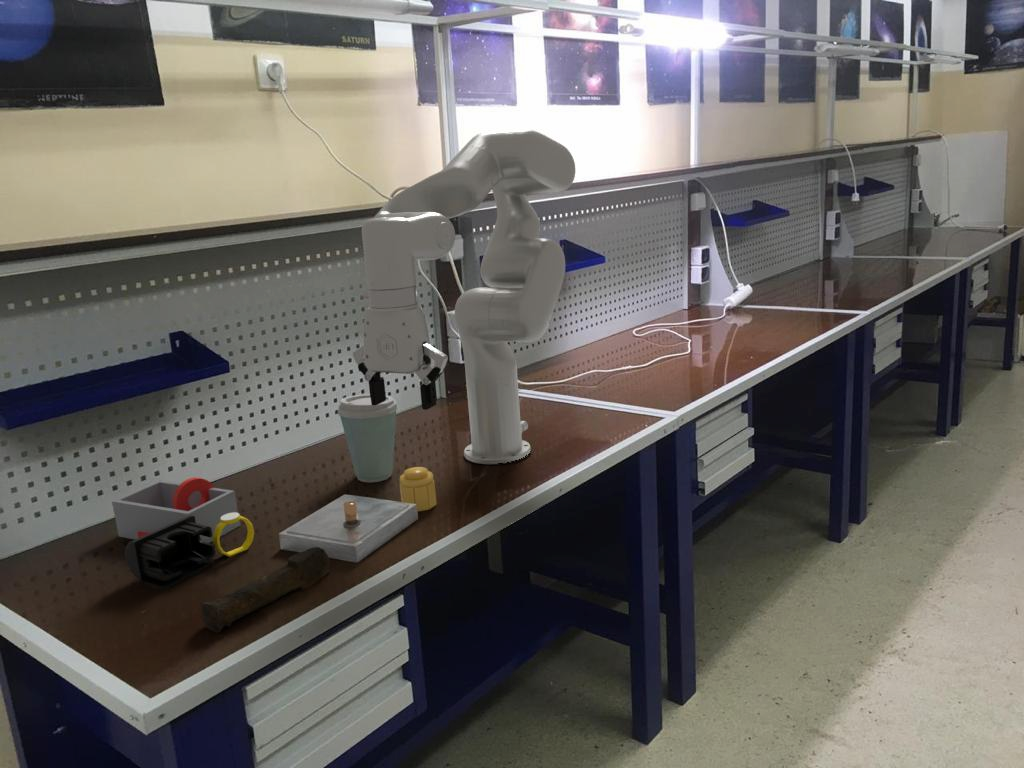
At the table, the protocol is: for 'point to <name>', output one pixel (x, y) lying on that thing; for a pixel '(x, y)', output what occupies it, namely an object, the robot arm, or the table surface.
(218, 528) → the watch
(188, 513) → the parts corral
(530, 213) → the robot arm
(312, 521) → the plate
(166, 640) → the table surface
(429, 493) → the wire nut
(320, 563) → the dark brown wood branch
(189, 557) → the end cap
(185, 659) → the table surface
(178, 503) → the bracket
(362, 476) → the disposable coffee cup
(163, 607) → the table surface
